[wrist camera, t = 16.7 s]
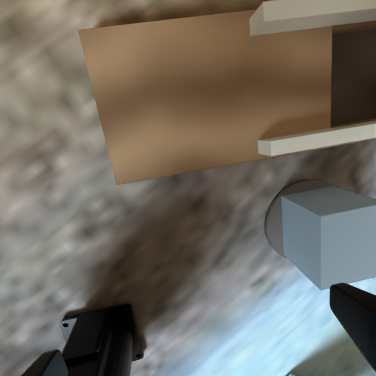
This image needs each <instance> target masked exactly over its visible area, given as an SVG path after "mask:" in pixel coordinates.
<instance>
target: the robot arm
mask: <svg viewBox="0 0 376 376" xmlns="http://www.w3.org/2000/svg"><path fill="white" fill-rule="evenodd" d="M330 308H331V310H332V312H333V313H334V315H335V316H336V318H337V319H338V320H339V322H340V323H341V325H342V326H343V328H344V329H345V330H346V332H347V333H348V335H349V336H350V338H351V339H352V340H353V342H354V343H355V345H356V346H357V348H358V349H359V350H360V352H361V353H362V355H363V356H364V357H365V359H366V360H367V361H368V363H369V364H370V365H371V366H372V368H373V369H374V370H375V371H376V295H374V294H371V293H369V292H366V291H364V290H361V289H359V288H356V287H354V286H351V285H349V284H346V283H337V284H333V285H331V287H330ZM125 309H128V310H125ZM66 323H68V324H66ZM60 328H61V330H62V333H63V335H64V338H65V341H66V344H65V347H64V349H63V351H62V353H61V352H60V350H58V349H56V350H52V351H47V352H45V353H43V354H42V355H41V356H40V357H39V358H38V359H37V360H36V361H35V362H34V363H33V364H32V365H31V366H30V367H29V368H28V369H27V370H26V371H25V372H24V373H23V374H22V375H21V376H130V372H131V364H132V361H136V360H140V359H142V358H143V356H144V349H143V346H142V342H141V338H140V335H139V331H138V327H137V323H136V320H135V316H134V312H133V309H132V306H131V305H130V304H123V305H118V306H114V307H109V308H105V309H100V310H96V311H91V312H87V313H83V314H78V315H74V316H69V317H65V318H63V319H62V321H61V323H60Z"/></svg>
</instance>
